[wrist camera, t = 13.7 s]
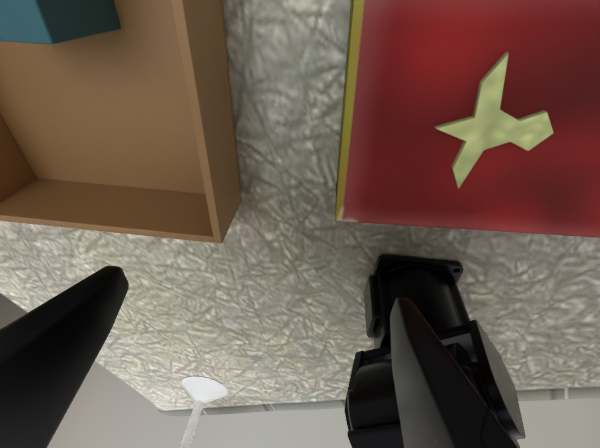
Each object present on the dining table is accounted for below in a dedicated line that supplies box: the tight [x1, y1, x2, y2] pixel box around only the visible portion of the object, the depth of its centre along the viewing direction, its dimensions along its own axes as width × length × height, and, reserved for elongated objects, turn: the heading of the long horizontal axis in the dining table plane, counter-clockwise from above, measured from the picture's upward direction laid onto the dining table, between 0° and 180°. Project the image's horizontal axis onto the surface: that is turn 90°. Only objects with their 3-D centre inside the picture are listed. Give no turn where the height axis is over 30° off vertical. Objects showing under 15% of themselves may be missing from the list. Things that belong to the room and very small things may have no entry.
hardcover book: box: [335, 0, 600, 238], centre depth 15 cm, size 12×21×4 cm, turn 90°
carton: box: [0, 0, 242, 243], centre depth 16 cm, size 16×18×5 cm
